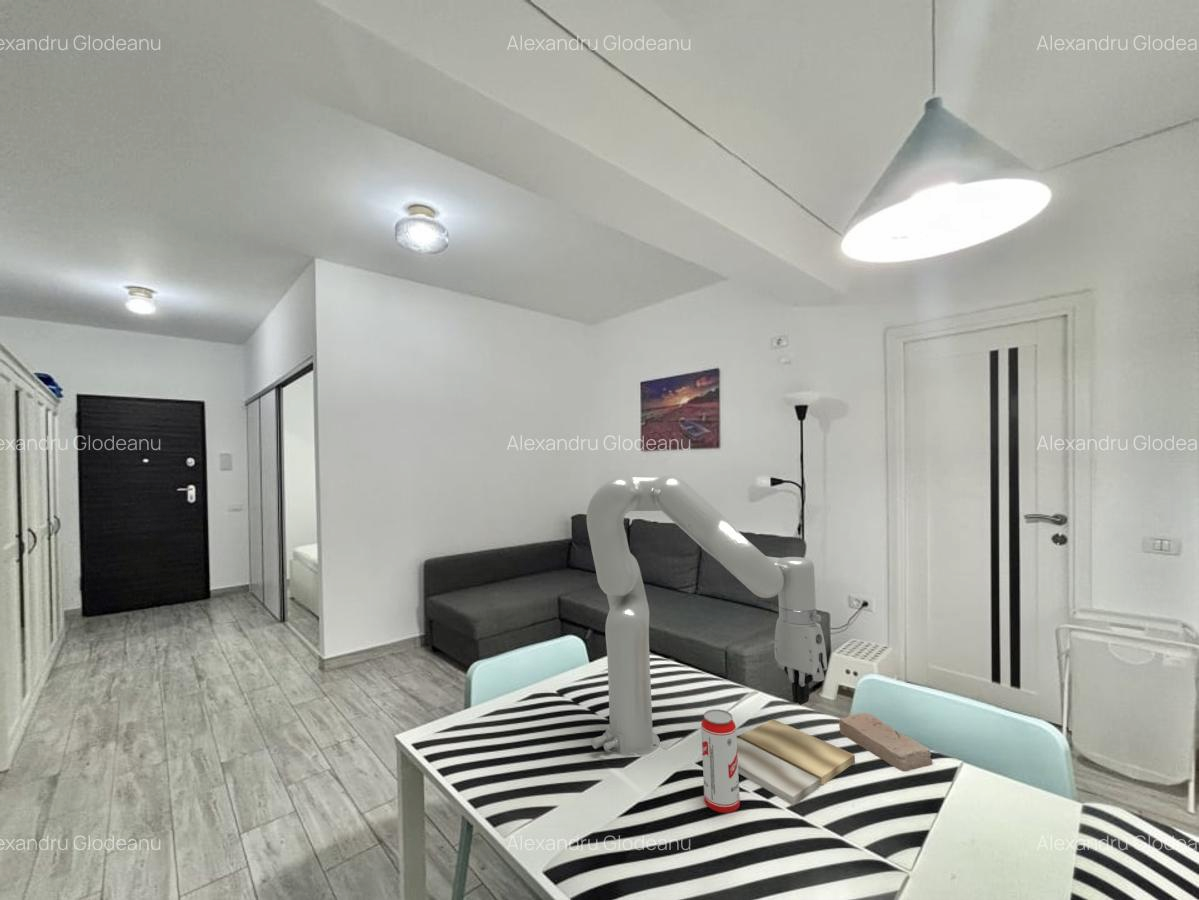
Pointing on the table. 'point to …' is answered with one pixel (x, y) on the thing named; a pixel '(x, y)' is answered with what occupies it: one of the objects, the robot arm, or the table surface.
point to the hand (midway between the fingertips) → (800, 701)
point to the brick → (885, 742)
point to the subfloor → (774, 773)
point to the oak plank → (800, 749)
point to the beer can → (720, 761)
